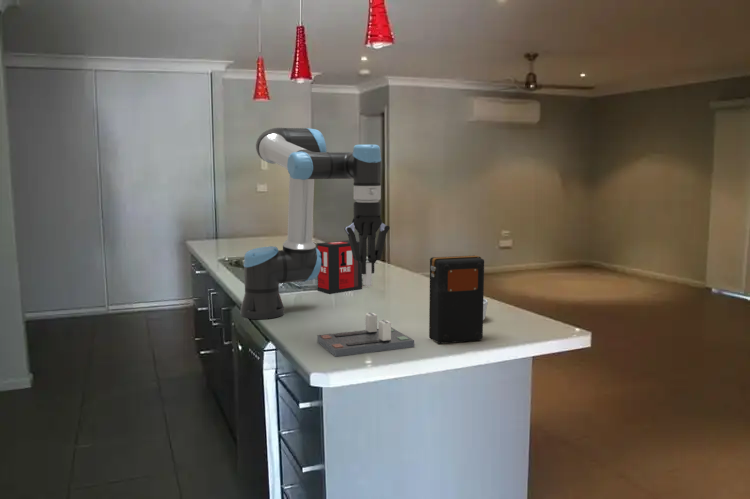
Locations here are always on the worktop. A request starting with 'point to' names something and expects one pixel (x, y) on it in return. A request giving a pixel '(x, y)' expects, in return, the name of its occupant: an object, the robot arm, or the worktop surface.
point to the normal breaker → (371, 322)
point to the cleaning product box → (338, 268)
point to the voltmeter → (456, 298)
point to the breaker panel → (362, 342)
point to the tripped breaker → (384, 330)
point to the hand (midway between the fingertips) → (367, 285)
